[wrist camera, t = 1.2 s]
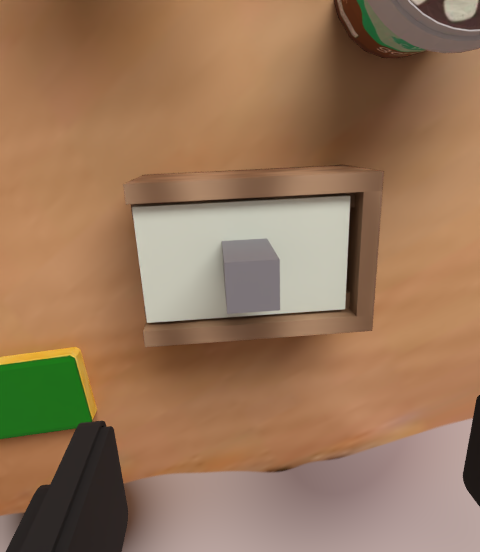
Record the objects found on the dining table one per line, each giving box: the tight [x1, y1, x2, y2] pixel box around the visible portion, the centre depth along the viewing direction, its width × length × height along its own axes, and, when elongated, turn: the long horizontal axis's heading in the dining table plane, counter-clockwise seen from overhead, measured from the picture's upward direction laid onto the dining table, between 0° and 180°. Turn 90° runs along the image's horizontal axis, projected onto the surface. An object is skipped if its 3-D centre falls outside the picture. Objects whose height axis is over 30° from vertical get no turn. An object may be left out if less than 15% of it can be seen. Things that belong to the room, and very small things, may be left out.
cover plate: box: [132, 194, 350, 323], centre depth 24 cm, size 14×8×6 cm, turn 93°
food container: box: [334, 0, 480, 58], centre depth 24 cm, size 12×6×10 cm, turn 106°
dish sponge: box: [0, 347, 97, 439], centre depth 35 cm, size 7×14×2 cm, turn 96°
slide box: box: [123, 165, 384, 347], centre depth 29 cm, size 16×11×8 cm
